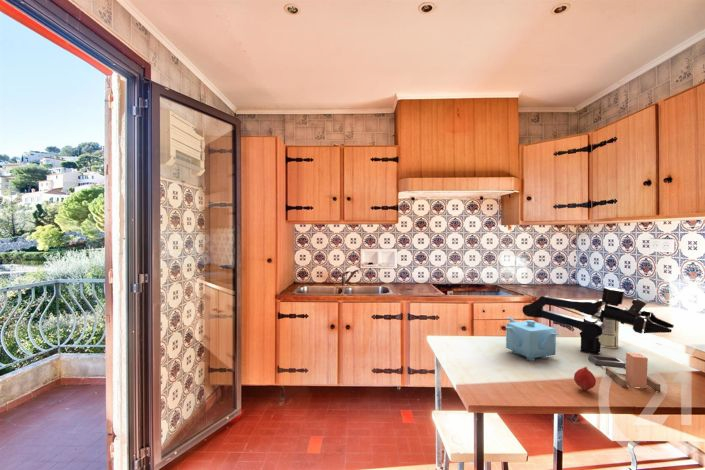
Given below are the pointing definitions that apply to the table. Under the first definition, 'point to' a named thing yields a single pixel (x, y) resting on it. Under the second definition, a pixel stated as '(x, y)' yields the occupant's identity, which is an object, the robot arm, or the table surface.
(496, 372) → the table surface
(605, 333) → the coffee can
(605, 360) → the tray
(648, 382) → the channel
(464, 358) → the table surface
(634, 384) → the block
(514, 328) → the blue lidded box
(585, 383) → the onion
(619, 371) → the pad
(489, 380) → the table surface
